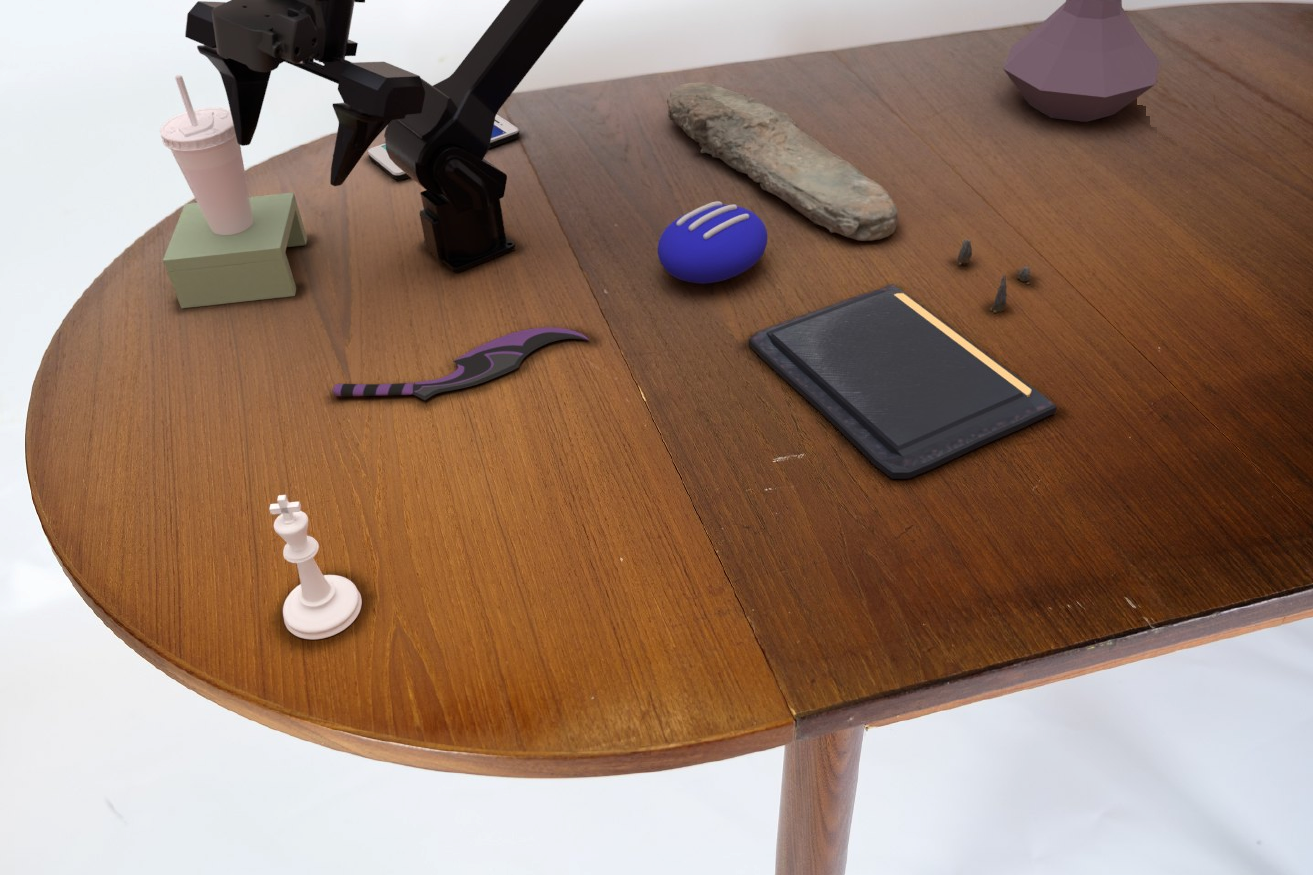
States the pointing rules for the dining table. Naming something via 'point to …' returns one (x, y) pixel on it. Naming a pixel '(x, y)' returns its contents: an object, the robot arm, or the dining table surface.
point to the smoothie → (210, 164)
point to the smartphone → (379, 155)
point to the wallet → (899, 381)
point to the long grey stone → (783, 160)
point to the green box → (235, 255)
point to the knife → (471, 365)
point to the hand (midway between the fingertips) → (289, 164)
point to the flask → (1082, 62)
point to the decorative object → (712, 243)
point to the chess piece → (312, 581)
